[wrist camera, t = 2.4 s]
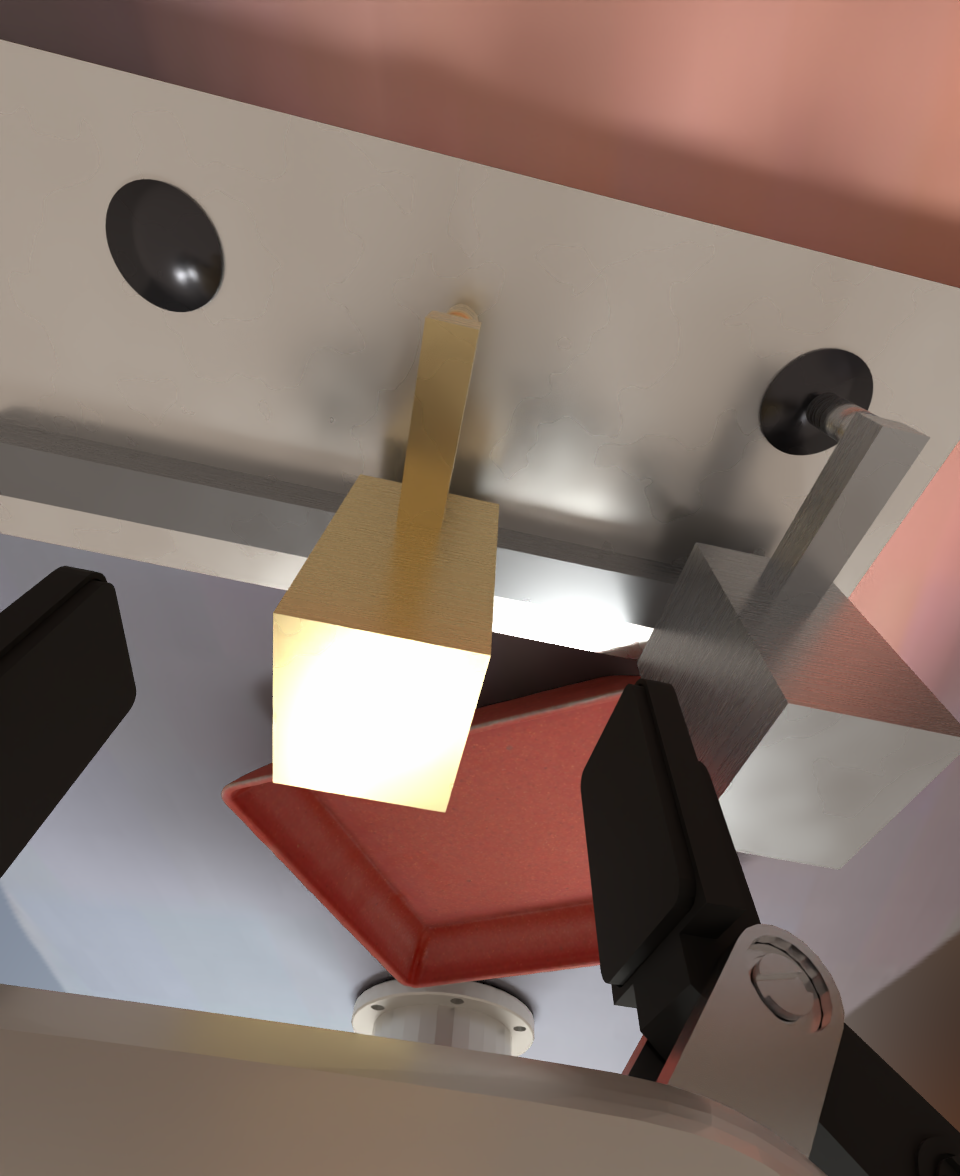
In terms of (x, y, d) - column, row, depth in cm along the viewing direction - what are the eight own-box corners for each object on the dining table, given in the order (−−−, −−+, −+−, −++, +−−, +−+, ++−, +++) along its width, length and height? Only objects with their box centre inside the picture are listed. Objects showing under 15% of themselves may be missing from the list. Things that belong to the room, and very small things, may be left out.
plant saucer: (656, 620, 20) (679, 683, 17) (726, 882, 29) (748, 952, 26) (243, 727, 24) (208, 791, 22) (414, 927, 33) (405, 990, 31)
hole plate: (766, 661, 20) (907, 903, 13) (35, 512, 18) (-275, 697, 11) (1001, 303, 14) (1545, 389, 6) (-94, 20, 12) (-1034, -299, 5)
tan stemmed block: (468, 616, 17) (445, 812, 12) (355, 592, 17) (272, 782, 11) (541, 322, 13) (563, 404, 7) (386, 285, 12) (273, 337, 7)
